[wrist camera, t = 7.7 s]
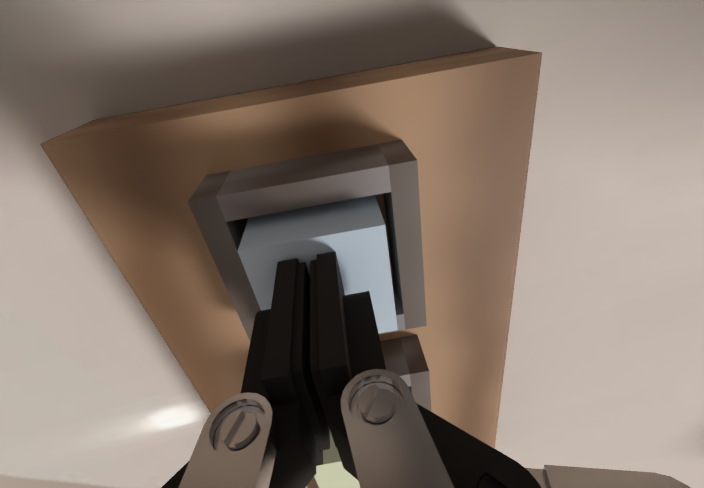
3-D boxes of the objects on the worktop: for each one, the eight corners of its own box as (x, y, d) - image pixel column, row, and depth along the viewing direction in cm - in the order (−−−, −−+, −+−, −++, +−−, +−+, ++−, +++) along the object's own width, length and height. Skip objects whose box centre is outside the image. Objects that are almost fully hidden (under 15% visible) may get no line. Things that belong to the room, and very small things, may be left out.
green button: (401, 387, 15) (415, 448, 13) (407, 437, 18) (420, 496, 15) (310, 403, 15) (309, 466, 13) (327, 451, 18) (329, 512, 15)
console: (497, 46, 13) (585, 58, 9) (473, 448, 28) (501, 524, 24) (93, 120, 13) (-13, 167, 9) (285, 481, 28) (281, 562, 24)
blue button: (371, 186, 12) (385, 224, 9) (384, 281, 14) (397, 330, 12) (251, 208, 12) (237, 251, 9) (283, 299, 14) (277, 351, 12)
